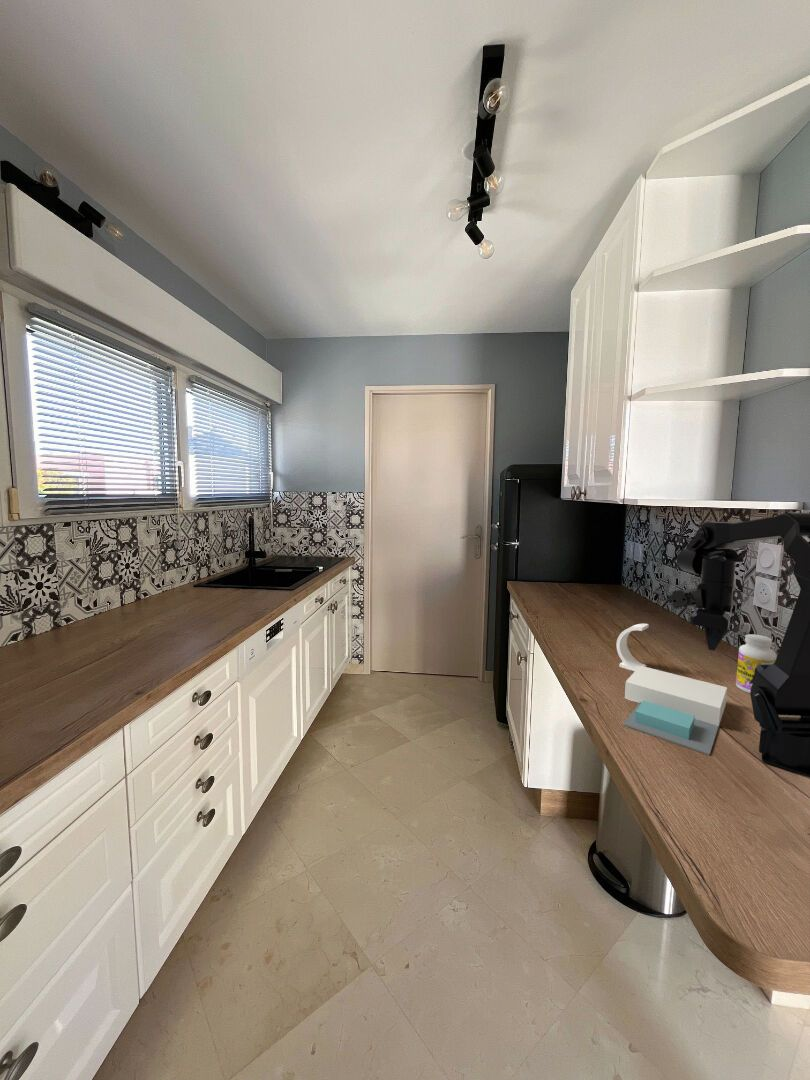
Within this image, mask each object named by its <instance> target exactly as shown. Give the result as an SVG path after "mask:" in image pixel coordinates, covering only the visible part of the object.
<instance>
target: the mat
mask: <svg viewBox="0 0 810 1080" xmlns="http://www.w3.org/2000/svg"><path fill="white" fill-rule="evenodd" d="M641 703H642V702H639V703H637V705H636V706H635V708H634V709H633V710H632V711H631V712H630V714H629V715H628V716H627V718H626V720H625V721H624V723H623V724H622V726H624V727H627V728H629V729H632V730H635V731H638V732H641V733H644V734H647V735H649V736H653V737H656V738H658V739H661V740H664V741H667V742H669V743H672V744H675V745H677V746H678V745H679V746H682V747H684V748H687V749H690V750H693V751H696V752H698V753H702V754H704V755H707V756H711V752H712V748H713V746H714V743H715V740H716V736H717V734H718V730H719V728H720V725H719V726H717V725H714V724H710V723H707V722H704V721H701V720H697V719H695V720H694V728H693V730H692V732H691V735H690V737H689V740H688V739H685V738H682V737H679V736H676V735H673V734H670V733H667V732H664V731H661V730H658V729H655V728H652V727H649V726H646V725H643V724H640V723H637V722H635V714H636V710H637V709H638V707H639V706H640V705H641Z"/></svg>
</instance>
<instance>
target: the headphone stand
mask: <svg viewBox="0 0 810 1080" xmlns="http://www.w3.org/2000/svg"><path fill="white" fill-rule="evenodd" d="M649 626H650V625H649V623H638V624H634V625H632V626H630V627H628V628H626V629H624V630H623V631H622V632H621V633H620V634H619V635H618V637H617V639H616V652H617V654H618V657H619V659H620V660H621V661H622V662H620V663H619V667H620V668H622V669H624V670H625V669H626V670H629V671H633V672H635V671H636V670H637V668H638V667H639V666H644V667H647V664H644V663H642V662H640V661H638V660H637V659H636V658H635V657H634V656H633V654H631V652H630V650H629V647H628V638H629V637H628V636H629V634H630V633H631V632H633V631H639V632H643V631H644V630H646V629H648V628H649Z"/></svg>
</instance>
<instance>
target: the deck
mask: <svg viewBox="0 0 810 1080" xmlns="http://www.w3.org/2000/svg"><path fill="white" fill-rule="evenodd" d="M727 693H728V687H726V686H723V685H719V684H715V683H712V682H706V681H703V680H699V679H695V678H690V677H688V676H683V675H679V674H675V673H671V672H667V671H664V670H660V669H655V668H651V667H647V666H646V667H644V666H639V667H638V668H637V670H636V671H633V673H631V675H630V676H629V677H628V678H627V679H626V681H625V687H624V699H626V700H628V701H631V702H635V703H637V704H638V703H639V702H643V701H647V702H650V703H653V704H657V705H660V706H663V707H667V708H670V709H673V710H677V711H680V712H683V713H687V714H690V715H693V716H695V719H697V720H701V721H704V722H707V723H710V724H714V725H717V726H719V727H720V725H721V721H722V717H723V714H724V712H725V709H726V705H727V695H728V694H727Z"/></svg>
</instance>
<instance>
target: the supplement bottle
mask: <svg viewBox="0 0 810 1080" xmlns="http://www.w3.org/2000/svg"><path fill="white" fill-rule="evenodd" d="M744 640H745V644H742V645H740V646H739V649H738V658H737V668H736V677H735V678H736V679H735V685H736V687H737V688H738V689H739V690H741V691H743V692H744V693H748V694H750V692H751V686H752V684H751V683H750V681H751V680H752V679H753V677H754V672H755V668H756V667H757V665H772V664H773V663H774V662H775V661H776V658H777V654H776V652H775V651H774V650H773V649H771V647H772V645H773V639H772V638H770V637H768V636H765V635H760V634H753V633H752V634H746V635H745V638H744Z"/></svg>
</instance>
